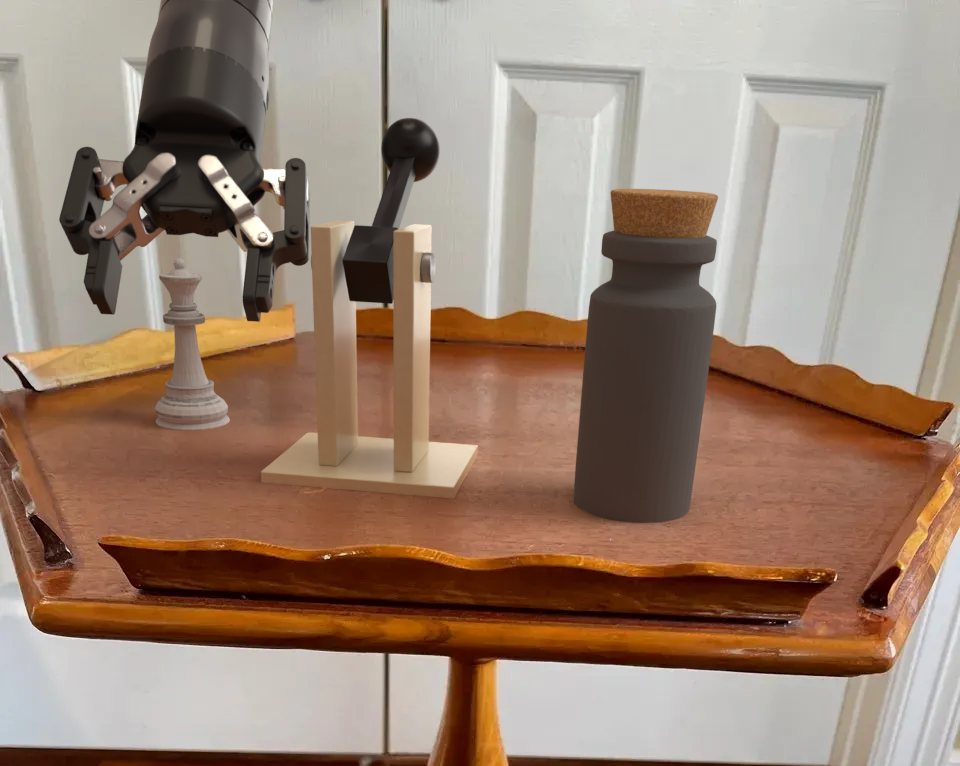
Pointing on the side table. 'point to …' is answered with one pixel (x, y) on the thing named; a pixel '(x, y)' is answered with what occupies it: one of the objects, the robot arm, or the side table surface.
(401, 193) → the lever
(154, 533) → the side table surface
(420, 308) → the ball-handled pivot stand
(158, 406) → the chess piece
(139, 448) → the side table surface
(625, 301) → the bottle
